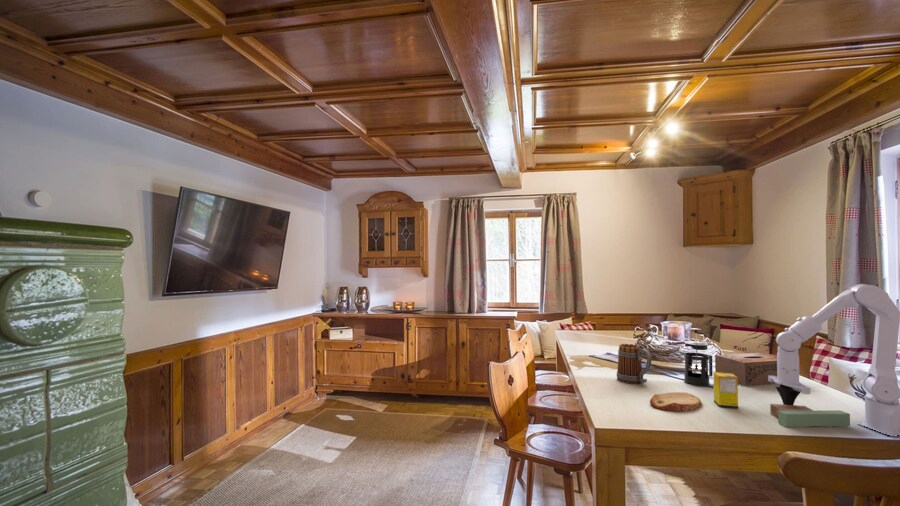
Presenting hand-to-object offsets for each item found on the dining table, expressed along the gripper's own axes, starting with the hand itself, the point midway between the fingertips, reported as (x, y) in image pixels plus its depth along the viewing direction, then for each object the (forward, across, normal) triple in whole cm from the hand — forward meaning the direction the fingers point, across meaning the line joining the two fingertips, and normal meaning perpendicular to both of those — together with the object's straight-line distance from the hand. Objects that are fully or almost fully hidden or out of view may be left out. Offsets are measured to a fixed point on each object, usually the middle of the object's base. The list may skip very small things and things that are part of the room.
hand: (788, 409), depth 138 cm
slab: (+2, +4, -2) cm, 4 cm away
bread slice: (+3, -11, -32) cm, 34 cm away
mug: (+2, -38, -34) cm, 51 cm away
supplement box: (+2, -9, -15) cm, 18 cm away
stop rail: (+2, +9, 0) cm, 9 cm away
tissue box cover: (+2, -41, +20) cm, 46 cm away
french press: (+2, -36, -8) cm, 37 cm away
